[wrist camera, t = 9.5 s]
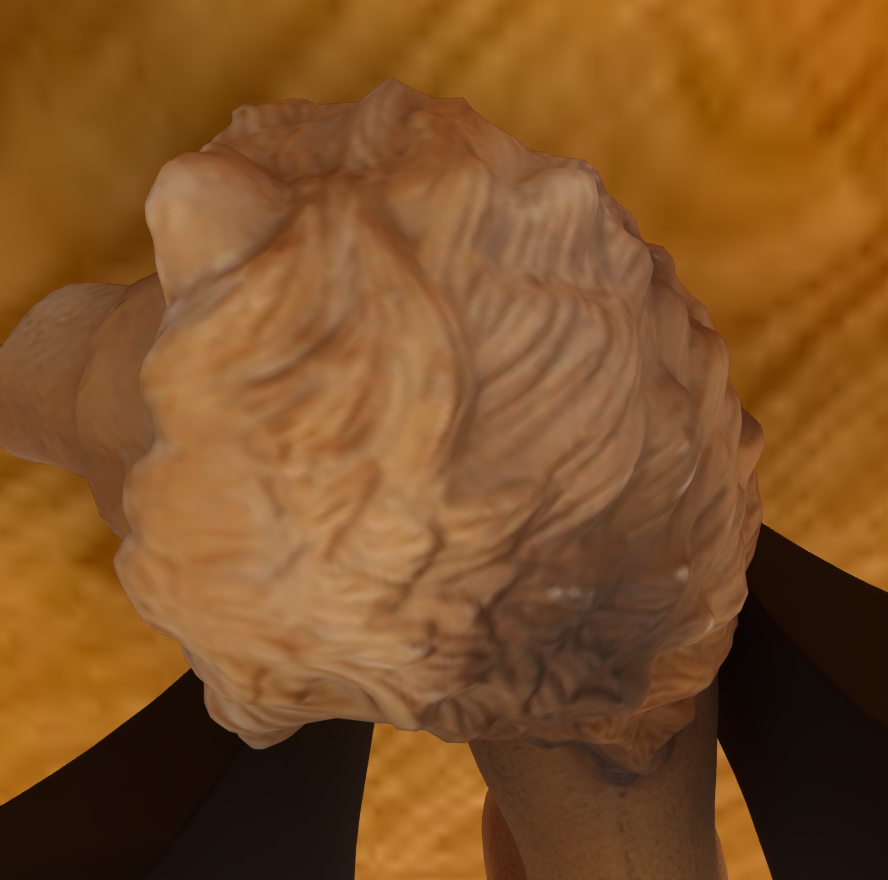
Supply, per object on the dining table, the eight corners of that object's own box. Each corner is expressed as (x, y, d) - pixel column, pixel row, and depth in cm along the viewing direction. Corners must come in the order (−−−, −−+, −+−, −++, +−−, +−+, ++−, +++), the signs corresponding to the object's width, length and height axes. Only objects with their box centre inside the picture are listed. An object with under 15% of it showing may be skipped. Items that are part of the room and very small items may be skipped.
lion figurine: (171, 164, 11) (-579, 437, 3) (522, 2, 10) (961, -305, 2) (519, 810, 17) (613, 1494, 9) (755, 739, 16) (1096, 1413, 8)
